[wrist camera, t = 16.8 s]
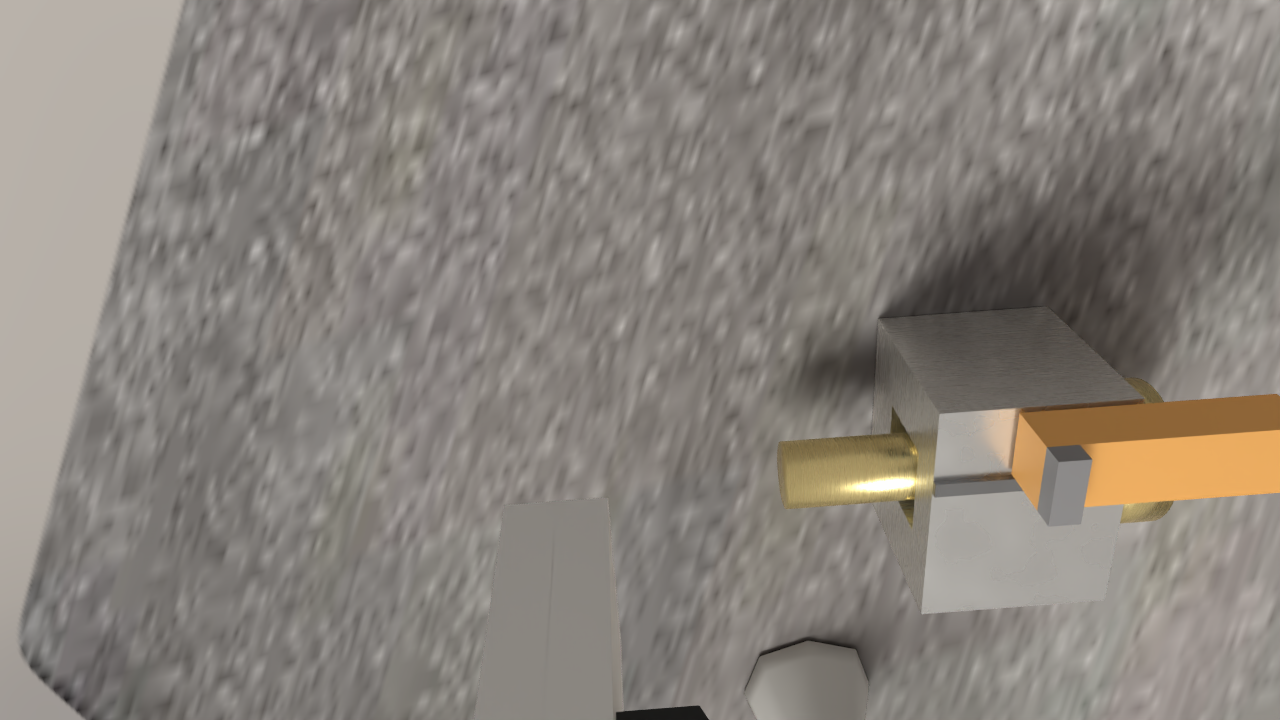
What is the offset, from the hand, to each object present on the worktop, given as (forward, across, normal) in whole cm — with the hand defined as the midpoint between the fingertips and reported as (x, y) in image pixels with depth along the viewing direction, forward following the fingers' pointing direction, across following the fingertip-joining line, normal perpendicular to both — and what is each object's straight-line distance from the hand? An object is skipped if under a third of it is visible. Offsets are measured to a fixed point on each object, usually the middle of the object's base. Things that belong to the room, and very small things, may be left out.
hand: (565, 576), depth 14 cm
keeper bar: (+20, +21, -12) cm, 31 cm away
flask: (+30, +10, -33) cm, 46 cm away
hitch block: (+29, +17, -15) cm, 37 cm away
